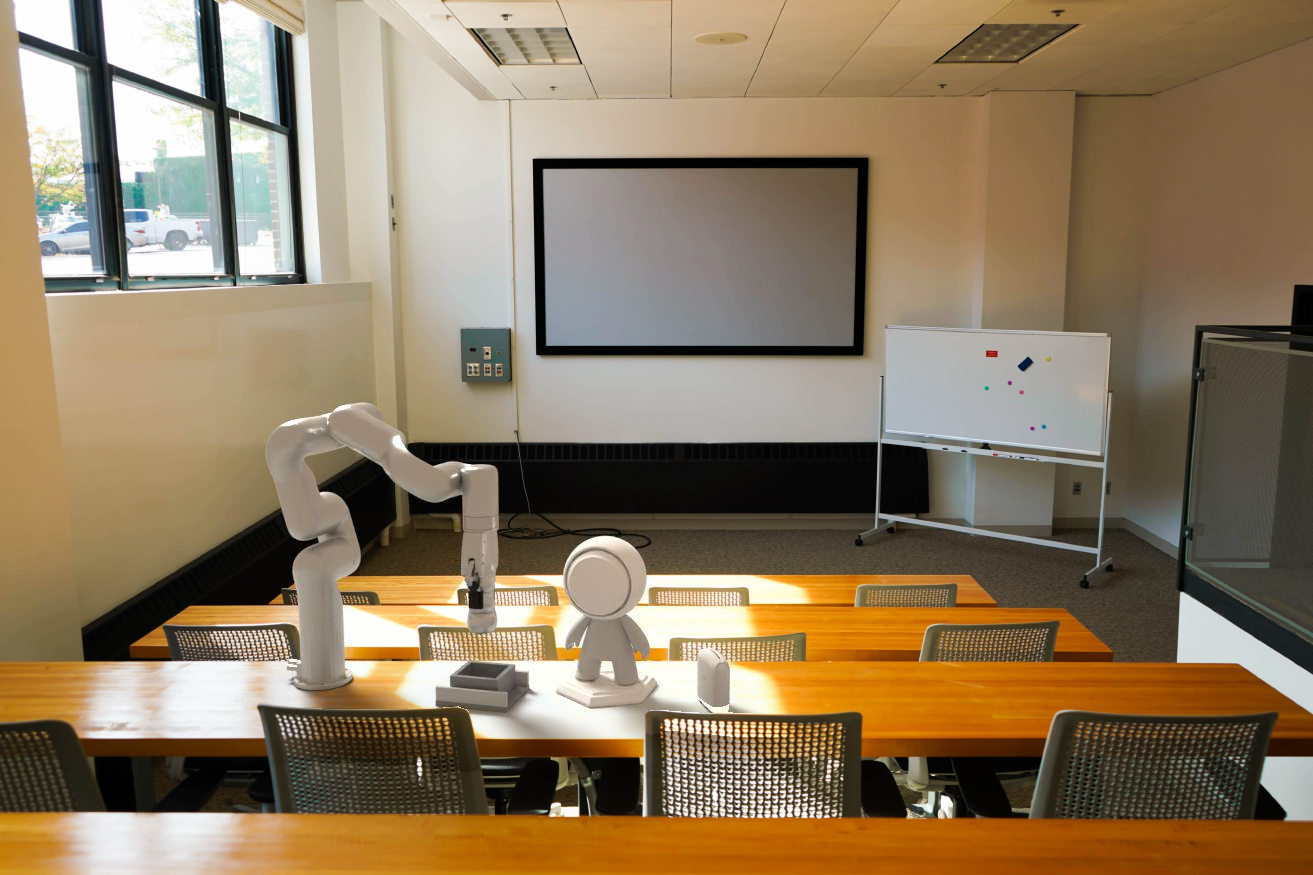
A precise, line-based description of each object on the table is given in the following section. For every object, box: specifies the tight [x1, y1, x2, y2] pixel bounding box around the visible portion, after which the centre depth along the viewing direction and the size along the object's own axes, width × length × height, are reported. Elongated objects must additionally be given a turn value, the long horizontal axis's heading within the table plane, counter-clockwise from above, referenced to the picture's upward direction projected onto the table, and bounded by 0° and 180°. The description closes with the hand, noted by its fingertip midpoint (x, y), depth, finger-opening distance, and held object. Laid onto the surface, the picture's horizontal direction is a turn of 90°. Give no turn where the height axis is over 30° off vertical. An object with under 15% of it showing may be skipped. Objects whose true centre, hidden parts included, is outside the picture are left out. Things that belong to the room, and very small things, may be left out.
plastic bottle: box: [466, 559, 498, 635], centre depth 210 cm, size 6×7×20 cm
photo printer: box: [696, 647, 731, 707], centre depth 207 cm, size 10×4×12 cm, turn 20°
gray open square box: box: [435, 659, 530, 713], centre depth 212 cm, size 16×14×6 cm
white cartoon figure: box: [555, 535, 658, 709], centre depth 215 cm, size 20×23×35 cm
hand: (481, 603), depth 210 cm, fingers closed on plastic bottle, 5 cm apart
